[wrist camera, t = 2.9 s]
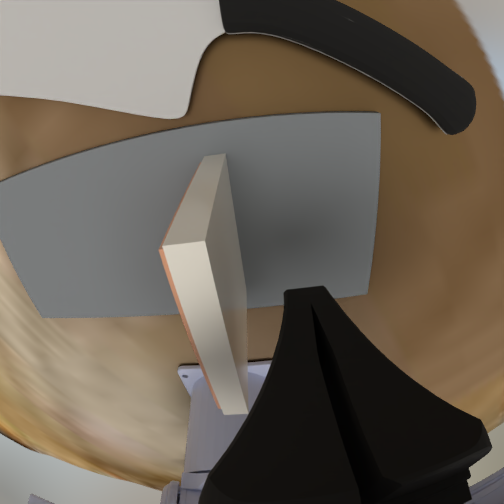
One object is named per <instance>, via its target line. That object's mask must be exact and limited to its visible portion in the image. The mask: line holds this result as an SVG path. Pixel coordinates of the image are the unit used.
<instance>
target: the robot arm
mask: <svg viewBox="0 0 504 504" xmlns="http://www.w3.org/2000/svg"><path fill="white" fill-rule="evenodd" d="M283 295H284V313H283V320H282V325H281V330H280V334H279V339H278V343H277V346H276V349H275V352H274V356H273V359H272V360H270V361H260V362H248V413H249V414H235V415H224V414H223V412H222V409H218V407H217V405H216V403H215V400H214V398H213V396H212V393H211V391H210V389H209V386H208V384H207V382H206V379H205V377H204V375H203V372H202V370H201V367H200V365H192V366H180V367H178V374H179V376H180V378H181V380H182V382H183V384H184V386H185V387H186V389H187V391H188V393H189V395H190V397H191V405H190V414H189V423H188V433H187V443H186V454H185V465H184V472H183V473H182V479H181V487H180V486H179V482H178V481H171V482H170V484H168V485H166V486H165V487H164V488H163V491H162V496H161V503H160V504H504V467H503V468H502V469H500V470H499V471H497V472H496V473H494V474H492V475H490V476H489V477H487V478H485V479H483V480H482V481H480V482H478V483H476V484H474V485H472V486H470V487H469V486H468V482H467V479H469V478H470V477H471V475H470V471H469V467H470V466H472V465H473V464H475V463H476V462H477V461H479V460H480V459H481V458H483V457H484V456H485V455H487V454H488V453H489V452H490V451H491V449H492V445H491V442H490V439H489V436H488V434H487V431H486V429H485V427H484V425H483V423H482V421H481V420H480V419H478V418H476V417H474V416H472V415H470V414H468V413H466V412H464V411H462V410H460V409H458V408H456V407H454V406H452V405H450V404H449V403H447V402H445V401H444V400H442V399H441V398H439V397H437V396H436V395H434V394H433V393H431V392H430V391H429V390H427V389H426V388H424V387H423V386H422V385H420V384H419V383H417V382H416V381H414V380H413V379H412V378H410V377H409V376H408V375H407V374H405V373H404V372H403V371H402V370H401V369H399V368H398V367H397V366H396V365H395V364H394V363H392V362H391V361H390V360H389V359H388V358H387V357H386V356H385V355H384V354H382V353H381V352H380V351H379V350H378V349H377V348H376V347H375V346H374V345H373V344H372V343H371V342H370V341H369V340H368V339H367V337H366V336H365V335H364V334H363V333H362V332H361V331H360V330H359V329H358V327H357V326H356V325H355V324H354V323H353V322H352V321H351V319H350V318H349V317H348V316H347V315H346V314H345V312H344V311H343V310H342V309H341V307H340V306H339V305H338V303H337V302H336V301H335V300H334V298H333V297H332V295H331V294H330V293H329V291H328V290H327V288H326V287H324V286H323V285H322V286H314V287H305V288H296V289H287V290H286V291H285V292H284V293H283ZM28 504H54V503H52V502H49V501H47V500H44V499H42V498H40V497H38V496H36V495H33V494H30V497H29V501H28Z"/></svg>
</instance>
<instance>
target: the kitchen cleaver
mask: <svg viewBox="0 0 504 504" xmlns="http://www.w3.org/2000/svg"><path fill="white" fill-rule="evenodd" d="M225 32H226V33H227V34H241V33H258V34H266V35H271V36H275V37H279V38H283V39H286V40H289V41H292V42H295V43H298V44H300V45H303V46H306V47H308V48H310V49H313V50H315V51H318V52H320V53H322V54H324V55H327V56H329V57H331V58H333V59H335V60H338V61H340V62H342V63H344V64H346V65H348V66H350V67H352V68H354V69H356V70H358V71H360V72H362V73H363V74H365V75H367V76H369V77H371V78H373V79H374V80H376V81H378V82H380V83H381V84H383V85H385V86H386V87H388V88H390V89H391V90H393V91H395V92H396V93H398V94H399V95H401V96H403V97H404V98H406V99H407V100H409V101H410V102H412V103H413V104H414V105H416V106H417V107H419V108H420V109H421V110H423V111H424V112H425V113H426V114H427V115H428V116H429V117H431V119H432V120H433V121H434V122H435V123H436V124H437V125H438V126H439V128H440V129H441V130H442V131H443V132H444V133H445V134H450V135H454V134H457V133H459V132H462V131H464V130H465V129H466V128H467V127H468V126H469V124H470V123H471V122H472V120H473V117H474V115H475V111H476V97H475V91H474V89H473V87H472V86H471V85H470V84H469V83H468V82H467V81H466V80H465V79H463V78H462V77H461V76H459V75H458V74H457V73H455V72H454V71H452V70H451V69H449V68H448V67H447V66H445V65H444V64H443V63H441V62H440V61H439V60H437V59H436V58H435V57H433V56H432V55H431V54H429V53H428V52H426V51H425V50H423V49H422V48H420V47H419V46H417V45H416V44H414V43H413V42H411V41H410V40H408V39H406V38H405V37H403V36H402V35H400V34H398V33H397V32H395V31H393V30H392V29H390V28H388V27H386V26H385V25H383V24H381V23H379V22H378V21H376V20H374V19H372V18H370V17H368V16H367V15H365V14H363V13H361V12H359V11H357V10H355V9H353V8H351V7H349V6H347V5H345V4H343V3H340V2H338V1H336V0H0V95H5V96H18V97H29V98H40V99H49V100H57V101H64V102H70V103H76V104H82V105H88V106H93V107H99V108H104V109H110V110H115V111H120V112H126V113H132V114H137V115H143V116H149V117H155V118H165V119H175V118H180V117H182V116H184V115H185V114H186V112H187V111H188V107H189V103H190V98H191V93H192V89H193V84H194V80H195V76H196V72H197V69H198V65H199V63H200V60H201V58H202V55H203V53H204V51H205V50H206V48H207V47H208V45H209V44H210V43H211V42H212V41H213V40H214V39H216V38H217V37H219V36H220V35H222V34H224V33H225Z"/></svg>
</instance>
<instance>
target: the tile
mask: <svg viewBox="0 0 504 504" xmlns="http://www.w3.org/2000/svg"><path fill="white" fill-rule="evenodd" d="M159 253H160V256H161V259H162V263H163V266H164V269H165V272H166V275H167V278H168V281H169V284H170V287H171V290H172V293H173V296H174V299H175V301H176V304H177V307H178V310H179V313H180V315H181V318H182V321H183V324H184V326H185V329H186V332H187V334H188V337H189V340H190V342H191V345H192V347H193V350H194V352H195V355H196V357H197V360H198V362H199V365H200V367H201V370H202V372H203V375H204V377H205V379H206V382H207V384H208V386H209V389H210V391H211V393H212V396H213V398H214V400H215V403H216V405H217V407H218V409H222V412H223V414H224V415H235V414H249V413H248V358H247V292H246V284H245V277H244V271H243V265H242V258H241V252H240V245H239V239H238V232H237V226H236V219H235V213H234V206H233V200H232V193H231V186H230V180H229V173H228V166H227V159H226V153H224V154H217V155H210V156H204V158H203V160H202V162H200V163H199V165H198V167H197V169H196V171H195V173H194V175H193V177H192V179H191V181H190V183H189V185H188V187H187V189H186V191H185V193H184V195H183V197H182V199H181V202H180V204H179V206H178V208H177V210H176V212H175V214H174V216H173V219H172V221H171V223H170V225H169V227H168V229H167V232H166V234H165V236H164V238H163V241H162V243H161V245H160V247H159Z"/></svg>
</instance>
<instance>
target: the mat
mask: <svg viewBox="0 0 504 504" xmlns="http://www.w3.org/2000/svg"><path fill="white" fill-rule="evenodd" d="M380 143H381V117H380V113H378V112H369V111H334V112H305V113H289V114H275V115H264V116H254V117H245V118H237V119H229V120H222V121H215V122H208V123H202V124H196V125H190V126H184V127H179V128H174V129H169V130H164V131H159V132H154V133H150V134H145V135H141V136H136V137H132V138H128V139H124V140H120V141H116V142H113V143H109V144H105V145H102V146H98V147H95V148H91V149H88V150H84V151H81V152H78V153H75V154H72V155H69V156H65V157H62V158H59V159H57V160H54V161H51V162H48V163H45V164H42V165H40V166H37V167H34V168H32V169H29V170H26V171H24V172H21V173H19V174H16V175H14V176H12V177H9V178H7V179H4V180H2V181H0V239H1V241H2V244H3V246H4V248H5V250H6V252H7V255H8V257H9V259H10V261H11V263H12V265H13V267H14V269H15V271H16V273H17V275H18V277H19V278H20V280H21V282H22V284H23V286H24V288H25V290H26V291H27V293H28V295H29V297H30V298H31V300H32V302H33V303H34V305H35V307H36V309H37V310H38V312H39V313H40V315H41V317H42V318H97V317H130V316H152V315H170V314H180V313H179V310H178V307H177V304H176V301H175V299H174V296H173V293H172V290H171V287H170V284H169V281H168V278H167V275H166V272H165V269H164V266H163V263H162V259H161V256H160V253H159V247H160V245H161V243H162V241H163V238H164V236H165V234H166V232H167V229H168V227H169V225H170V223H171V221H172V219H173V216H174V214H175V212H176V210H177V208H178V206H179V204H180V202H181V199H182V197H183V195H184V193H185V191H186V189H187V187H188V185H189V183H190V181H191V179H192V177H193V175H194V173H195V171H196V169H197V167H198V165H199V163H200V162H202V160H203V158H204V156H210V155H217V154H224V153H226V159H227V166H228V173H229V180H230V186H231V193H232V200H233V206H234V213H235V219H236V226H237V232H238V239H239V245H240V252H241V258H242V265H243V271H244V277H245V284H246V292H247V309H248V308H259V307H268V306H278V305H284V295H283V293H284V292H285V291H286V290H287V289H296V288H305V287H314V286H322V285H323V286H324V287H326V288H327V290H328V291H329V293H330V294H331V295H332V297H333V298H334V299H335V298H343V297H350V296H357V295H364V294H367V292H368V286H369V279H370V272H371V265H372V257H373V249H374V240H375V230H376V220H377V208H378V194H379V176H380Z"/></svg>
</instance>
